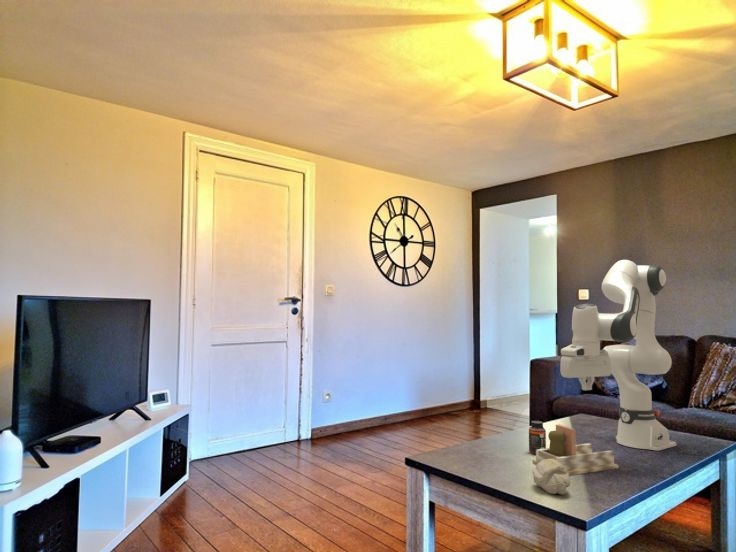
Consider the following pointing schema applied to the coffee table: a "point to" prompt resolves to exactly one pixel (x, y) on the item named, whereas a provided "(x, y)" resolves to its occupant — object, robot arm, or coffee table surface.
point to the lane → (581, 459)
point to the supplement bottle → (537, 437)
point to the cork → (556, 443)
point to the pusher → (568, 439)
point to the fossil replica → (551, 476)
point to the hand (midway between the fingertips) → (586, 389)
